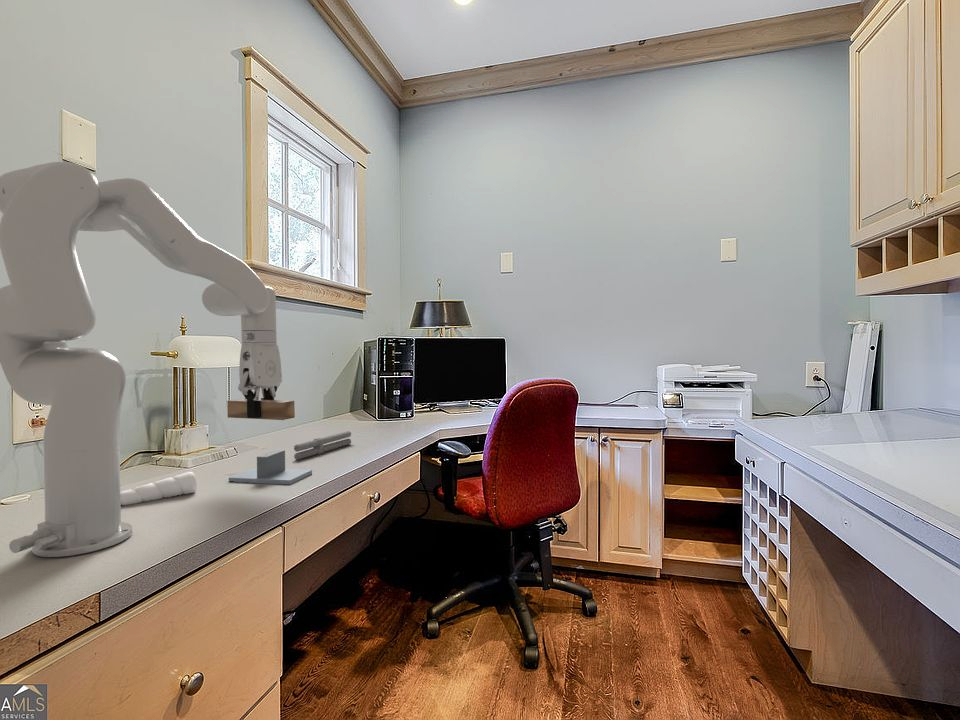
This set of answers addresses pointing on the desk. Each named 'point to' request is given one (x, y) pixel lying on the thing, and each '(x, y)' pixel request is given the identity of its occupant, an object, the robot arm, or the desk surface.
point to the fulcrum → (271, 471)
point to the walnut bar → (263, 409)
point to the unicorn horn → (160, 489)
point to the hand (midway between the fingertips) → (261, 415)
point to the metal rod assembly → (321, 445)
